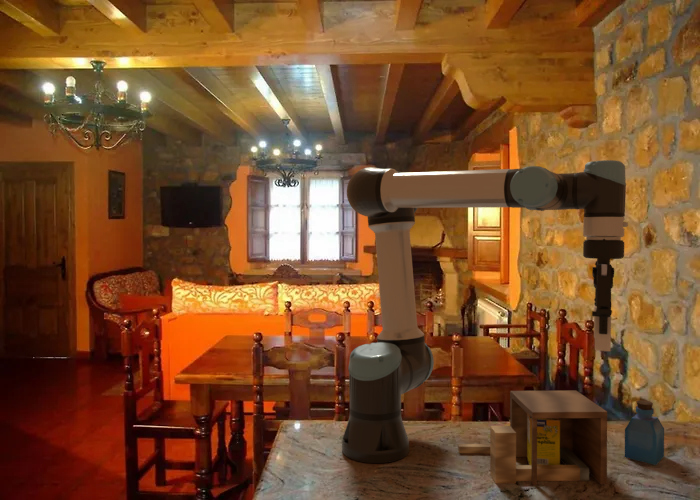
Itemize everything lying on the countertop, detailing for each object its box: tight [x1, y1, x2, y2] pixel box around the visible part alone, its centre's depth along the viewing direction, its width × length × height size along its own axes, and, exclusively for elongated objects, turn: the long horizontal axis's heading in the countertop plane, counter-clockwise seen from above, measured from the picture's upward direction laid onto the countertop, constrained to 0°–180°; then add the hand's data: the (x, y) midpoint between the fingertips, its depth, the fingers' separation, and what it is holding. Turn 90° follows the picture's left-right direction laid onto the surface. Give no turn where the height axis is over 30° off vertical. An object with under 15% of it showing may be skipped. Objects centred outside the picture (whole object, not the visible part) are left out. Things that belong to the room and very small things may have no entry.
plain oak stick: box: [457, 443, 490, 455], centre depth 125 cm, size 12×2×2 cm, turn 87°
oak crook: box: [489, 425, 590, 485], centre depth 115 cm, size 19×12×10 cm, turn 90°
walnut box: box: [509, 389, 608, 486], centre depth 116 cm, size 14×15×14 cm
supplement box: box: [526, 414, 561, 465], centre depth 117 cm, size 6×6×11 cm
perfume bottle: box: [624, 399, 665, 466], centre depth 122 cm, size 6×6×12 cm
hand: (601, 344), depth 113 cm, fingers open, 13 cm apart
